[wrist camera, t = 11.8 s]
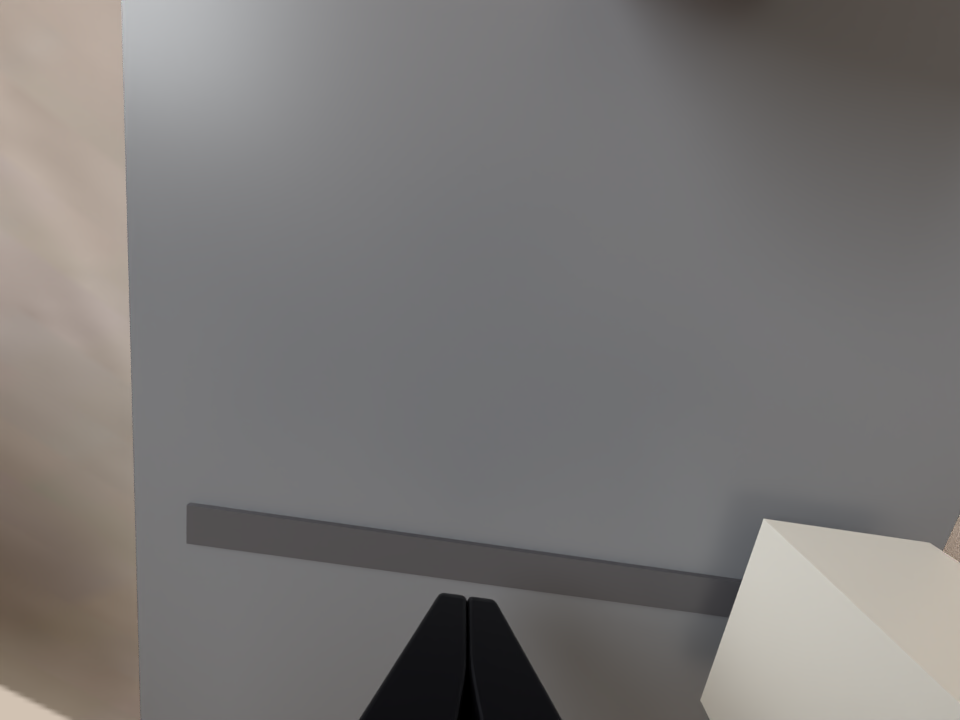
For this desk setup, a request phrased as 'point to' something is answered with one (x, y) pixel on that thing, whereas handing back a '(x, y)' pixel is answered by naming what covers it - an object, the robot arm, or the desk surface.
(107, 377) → the desk surface
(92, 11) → the desk surface
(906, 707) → the cream fader
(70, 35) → the desk surface
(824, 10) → the fader console
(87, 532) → the desk surface
